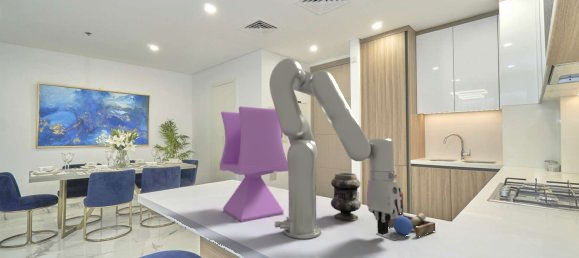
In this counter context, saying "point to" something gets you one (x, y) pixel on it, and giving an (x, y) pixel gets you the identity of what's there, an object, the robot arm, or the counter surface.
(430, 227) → the wooden tray
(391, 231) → the translucent flat square slab
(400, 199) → the supplement bottle
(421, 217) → the pin
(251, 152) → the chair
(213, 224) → the counter surface
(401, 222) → the ball
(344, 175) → the apothecary jar
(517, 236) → the counter surface
